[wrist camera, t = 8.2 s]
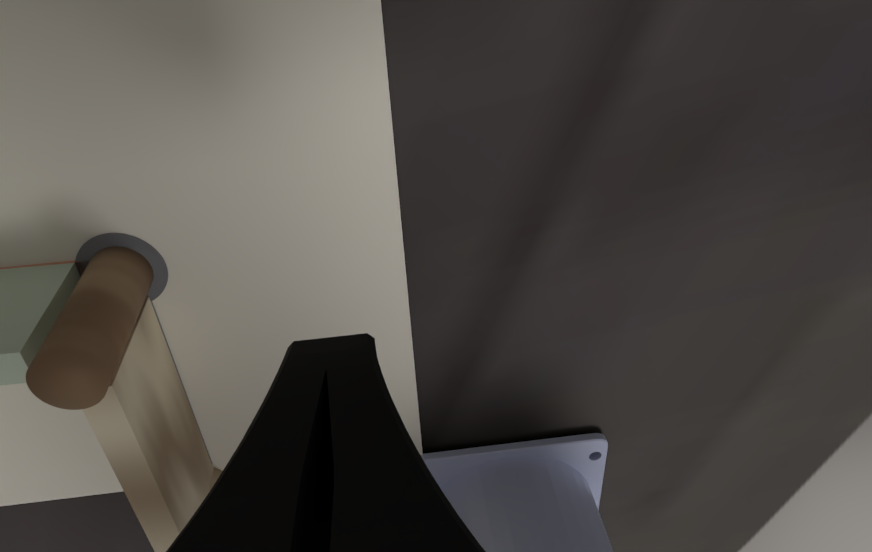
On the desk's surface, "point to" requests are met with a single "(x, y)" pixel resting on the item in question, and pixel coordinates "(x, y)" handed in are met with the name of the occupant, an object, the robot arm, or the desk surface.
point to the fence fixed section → (127, 392)
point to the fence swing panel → (30, 313)
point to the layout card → (202, 198)
